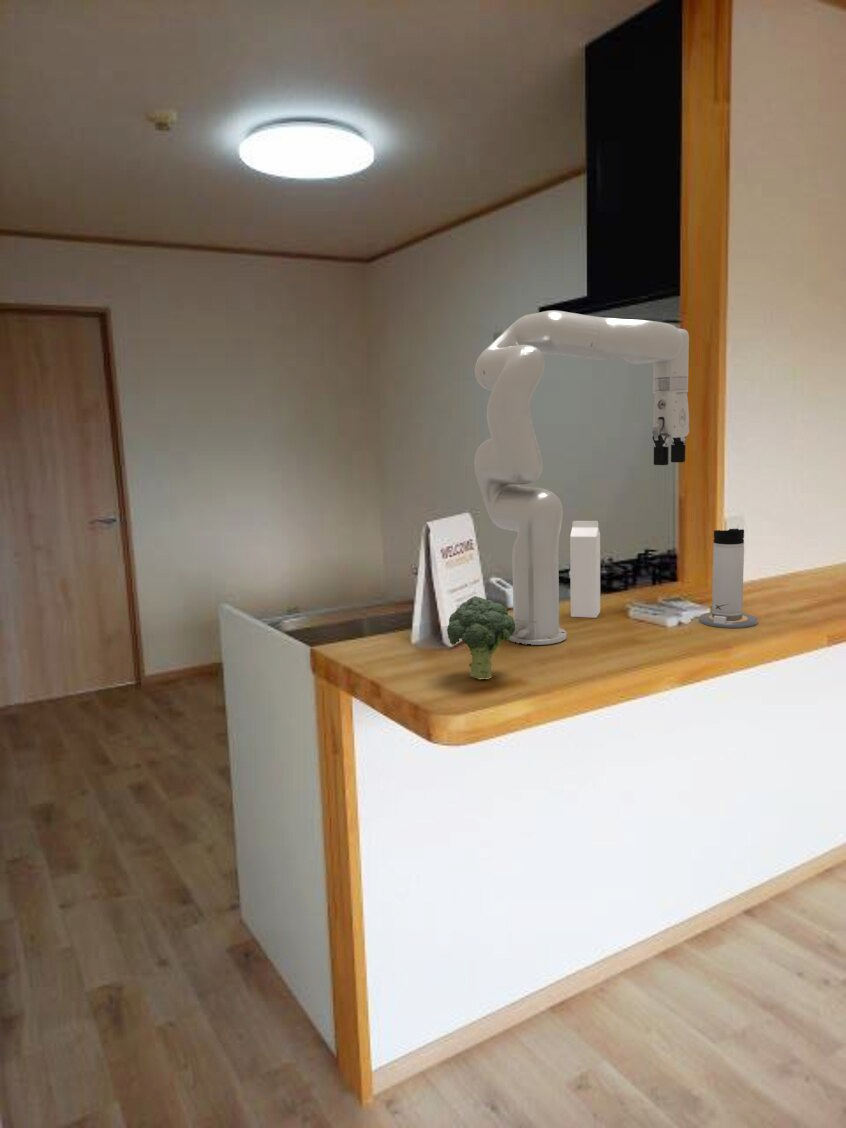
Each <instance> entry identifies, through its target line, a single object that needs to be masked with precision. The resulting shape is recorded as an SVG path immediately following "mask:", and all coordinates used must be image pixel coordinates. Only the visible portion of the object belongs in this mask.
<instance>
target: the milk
mask: <svg viewBox="0 0 846 1128" xmlns="http://www.w3.org/2000/svg"><path fill="white" fill-rule="evenodd" d="M571 524H572V525H571V531H570V535H569V540H570V541H569V544H570V545H569V546H570V547H569V554H570V555H569V558H570V559H569V560H570V561H569V563H570V564H569V565H570V567H569V568H570V570H569V571H570V574H569V575H570V578H569V579H570V582H569V583H570V617H571V618H591V619H592V618H595V619H597V618H598V616H599V614H600V613H601V532H600V528H599V522H598V520H573V521H571Z"/></svg>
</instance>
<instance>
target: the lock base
mask: <svg viewBox="0 0 846 1128" xmlns="http://www.w3.org/2000/svg"><path fill="white" fill-rule="evenodd" d="M726 618H727V617H723V616H714V618H713V617H712V611H711V612H705V613H702V614H701V615H699V622H700V623H701V624H703V625H706V626H708V627H714V628H723V629H745V628H751V627H755V626H757V625H758V621H759V620H758V619H759V618H758V617H756V616H755V615H753V614H748V613H743V610H742V619H740V620H735V621H726ZM756 624H757V625H756Z"/></svg>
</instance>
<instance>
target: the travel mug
mask: <svg viewBox="0 0 846 1128" xmlns="http://www.w3.org/2000/svg"><path fill="white" fill-rule="evenodd" d="M744 539H745V529H739V528H729V529H727V530H721V529H717V530H713V542H712V543H713V546H712V547H713V548H712V593H711V594H712V599H711V609H712V610H711V612H712V617H713V618H714V616H723V617H727V618H726V621H735V620H740V619H742V613H743V612H742V610H743V604H744V602H743V599H744V564H745V563H744V560H745V558H744V557H745V546H744V545H745V540H744Z"/></svg>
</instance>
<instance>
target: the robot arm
mask: <svg viewBox="0 0 846 1128" xmlns="http://www.w3.org/2000/svg"><path fill="white" fill-rule="evenodd" d="M689 344H690V335H689V332H688V330H686V329H685V328H678V327H676V326H675V325H673V324H670V323H667V322H660V321H653V320H647V319H646V320H645V319H633V318H631V319H628V318H619V317H602V316H595V315H594V316H593V315H587V314H581V313H576V312H568V311H563V310H556V309H555V310H545V311H541V312H535V313H531V314H530V313H529V314H525V315H522V317H519V318H518V319H517V320H516V321H514V322H513V323H512V324H511V325H509V326H508V328H506V329H505V330H504V331H503V332H502V333H501V334H500V335H499V336H498V337H497V338H496V339H495V340H494V341H492V342H491V344H489V345H488V346H487V347H486V348H485V349H484V350H483V351H482V352H481V354H479V356H478V357H477V360H476V363H475V364H474V366H475V367H474V376H475V379H476V381H477V383H478V384H479V386H481V387H482V388H483V389H485V390H487V391H490V392H491V393H490V395H489V398H488V402H487V406H486V408H487V409H486V420H487V426H488V429H489V433H490V437H491V438H487V439H486V440H485V441H483V442H482V443H481V444H479V446H478V448H477V450H476V452H475V456H474V463H473V464H474V465H473V466H474V471H475V476H476V480H477V482H478V483H477V484H478V486H479V490H480V492H481V496H482V499H483V502H484V506H485V509H486V511H487V513H488V516H489V519H490V520H491V522H492V523H493V524H494V525H496V527H498V528H500V529H502V530H507V531H511V532H517V536H516V538H515V541H514V544H513V547H512V554H511V555H512V556H511V567H512V604H513V605H512V607H513V608H512V610H513V611H512V612H513V613H512V614H513V615H512V617H513V620H514V623H515V628H516V629H515V631H514V633H513V634H512V635H511V636H510V638H509V640H508V641H510V642H512V643H515V642H516V644H519V643H522V644H521V645H527V644H531V645H530V646H542V645H543V646H544V645H553V644H557V643H560V642H563V641H565V640H566V639H567V636H568V635H567V631H566V630H565V629H564V628H561V627H560V591H559V589H560V587H559V586H560V585H559V584H560V582H559V581H560V579H559V576H560V575H559V569H560V568H559V543H560V536H561V535H560V533H561V527H562V524H563V516H564V509H563V505H562V501H561V499H560V498H559V497H558V496H557V495H556V494H555V493H554V492H553V491H551V490H549V489H547V488H543V487H536V486H521V485H528V484H532V483H534V482H535V481H537V480H538V479H539V478H540V476H541V475H542V472H543V467H544V466H543V464H544V463H543V459H542V458H543V457H542V455H541V450H540V448H539V443H538V440H537V436H536V433H535V430H534V426H533V421H532V416H531V411H530V409H531V408H530V405H531V401H532V400H531V399H532V396H533V393H534V391H535V390H536V388H537V386H538V383H539V382H540V380H541V378H542V377H543V375H544V371H545V358H544V355H557V356H564V357H565V356H566V357H574V358H575V357H576V358H583V359H589V360H612V359H620V358H622V359H623V360H624V361H625V362H627V363H629V364H633V365H643V364H651V363H652V364H653V365H652V366H653V370H652V371H653V373H652V374H653V377H652V378H653V379H652V380H653V381H652V386H653V387H652V394H653V395H655V396H654V400H653V401H654V403H653V418H652V419H653V422H652V427H651V433H652V440H653V443H652V446H653V466H667V465H669V455H670V462H671V463H685V462H686V444H687V440H686V438H687V436H688V435H689V434H690V413H689V412H690V411H689V400H688V399H689V398H688V393H689V358H690V357H689V356H690V353H689V351H690V350H689V349H690V346H689ZM670 439H671V442H672V444H671V445H670V449H669V446H668V443H669V441H670ZM669 450H670V454H669Z"/></svg>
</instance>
